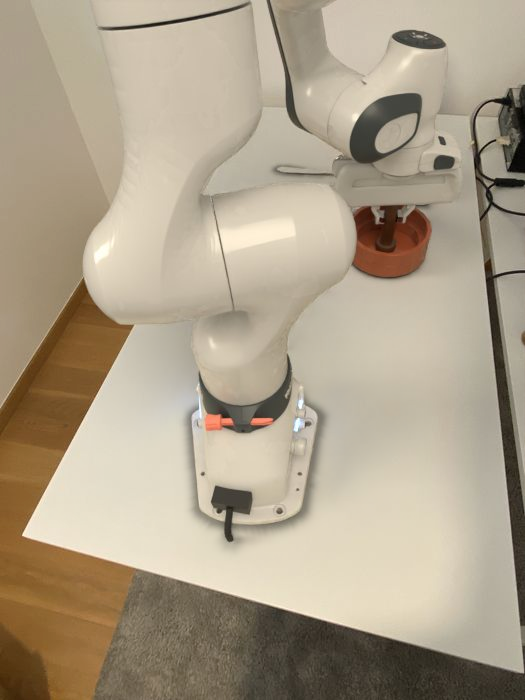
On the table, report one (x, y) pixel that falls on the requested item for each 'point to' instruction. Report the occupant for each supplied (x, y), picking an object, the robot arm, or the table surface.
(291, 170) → the fork
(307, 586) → the table surface
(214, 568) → the table surface
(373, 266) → the bowl
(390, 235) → the masher
